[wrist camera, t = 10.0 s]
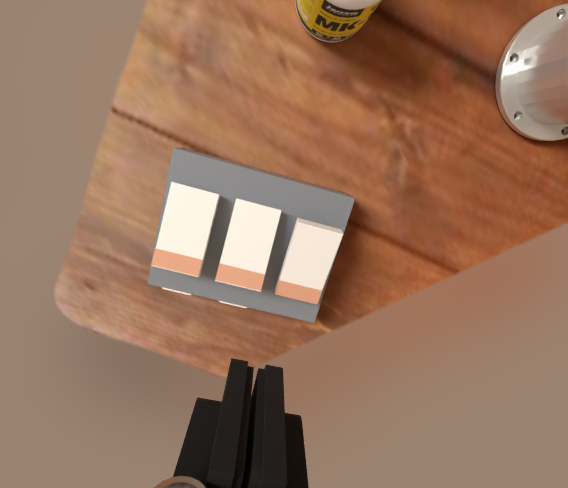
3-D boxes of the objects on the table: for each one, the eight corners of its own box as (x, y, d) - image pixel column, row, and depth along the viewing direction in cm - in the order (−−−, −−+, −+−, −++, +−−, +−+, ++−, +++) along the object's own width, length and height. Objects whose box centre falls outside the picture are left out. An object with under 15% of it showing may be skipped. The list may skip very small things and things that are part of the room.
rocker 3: (341, 229, 34) (343, 234, 33) (315, 297, 37) (316, 305, 36) (297, 217, 33) (297, 222, 32) (275, 288, 36) (274, 295, 35)
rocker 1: (220, 194, 34) (218, 194, 32) (200, 274, 34) (198, 277, 33) (174, 182, 33) (171, 181, 32) (155, 263, 34) (150, 266, 33)
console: (346, 193, 39) (357, 199, 34) (309, 308, 42) (314, 329, 37) (183, 147, 37) (170, 147, 32) (158, 272, 40) (143, 289, 35)
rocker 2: (280, 211, 35) (281, 210, 33) (260, 289, 35) (260, 292, 33) (236, 199, 34) (236, 198, 33) (216, 279, 34) (214, 281, 33)
